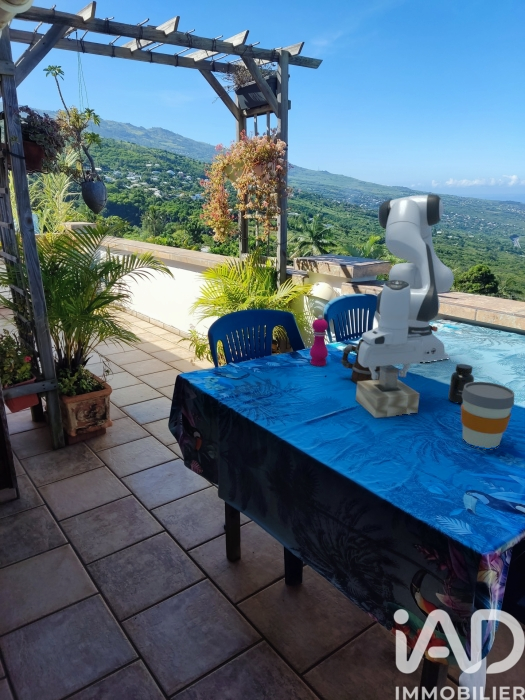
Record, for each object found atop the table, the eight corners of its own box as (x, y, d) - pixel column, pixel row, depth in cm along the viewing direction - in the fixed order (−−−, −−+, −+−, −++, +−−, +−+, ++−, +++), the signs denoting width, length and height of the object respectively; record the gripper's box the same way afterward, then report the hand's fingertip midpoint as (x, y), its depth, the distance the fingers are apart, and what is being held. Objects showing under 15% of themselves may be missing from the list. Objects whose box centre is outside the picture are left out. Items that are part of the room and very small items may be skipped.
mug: (383, 376, 176) (387, 337, 172) (383, 388, 165) (386, 347, 160) (341, 372, 180) (343, 334, 175) (338, 383, 169) (340, 343, 164)
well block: (394, 396, 157) (396, 378, 155) (417, 413, 144) (419, 393, 142) (355, 400, 154) (357, 381, 152) (375, 417, 141) (377, 397, 139)
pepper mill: (327, 361, 193) (329, 313, 187) (327, 366, 186) (330, 317, 180) (309, 360, 193) (311, 313, 188) (309, 366, 187) (311, 317, 181)
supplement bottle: (460, 406, 150) (465, 370, 146) (443, 398, 156) (447, 364, 152) (475, 402, 153) (480, 367, 149) (458, 395, 159) (462, 361, 155)
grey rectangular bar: (388, 400, 151) (392, 365, 148) (395, 405, 148) (398, 369, 144) (376, 401, 150) (379, 366, 147) (383, 406, 147) (386, 370, 143)
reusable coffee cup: (482, 456, 119) (491, 402, 115) (445, 435, 130) (452, 385, 126) (517, 447, 124) (526, 394, 120) (479, 427, 135) (486, 378, 131)
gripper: (417, 330, 148) (413, 371, 152) (357, 334, 143) (354, 376, 147) (428, 335, 142) (424, 378, 146) (366, 339, 137) (363, 384, 141)
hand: (388, 377), depth 147 cm, fingers open, 8 cm apart
